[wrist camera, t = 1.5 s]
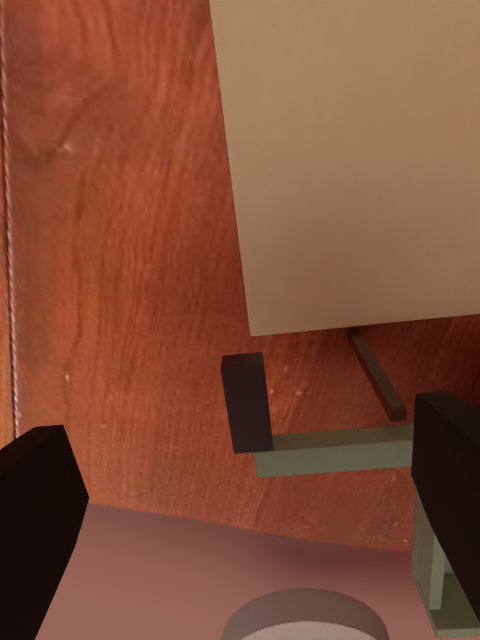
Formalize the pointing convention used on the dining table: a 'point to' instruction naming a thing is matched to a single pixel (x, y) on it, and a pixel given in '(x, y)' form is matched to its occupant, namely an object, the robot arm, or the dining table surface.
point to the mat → (353, 158)
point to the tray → (337, 456)
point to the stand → (377, 377)
